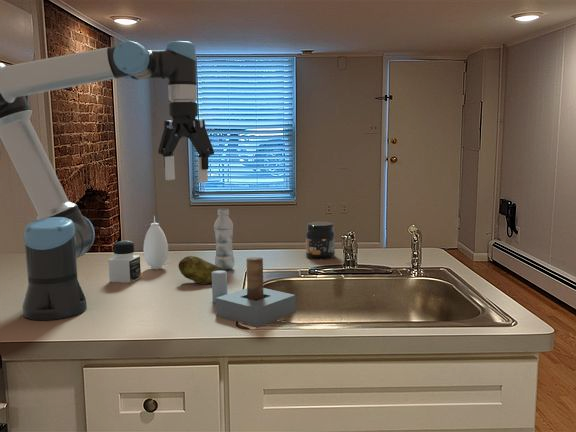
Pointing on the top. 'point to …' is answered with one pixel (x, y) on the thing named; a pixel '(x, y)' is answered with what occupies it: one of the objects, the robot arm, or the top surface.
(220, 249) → the plastic bottle
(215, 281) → the short pin
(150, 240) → the sauce bottle
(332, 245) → the supplement container
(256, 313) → the hole block
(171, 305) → the top surface
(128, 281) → the medicine bottle
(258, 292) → the long pin
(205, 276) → the potato
